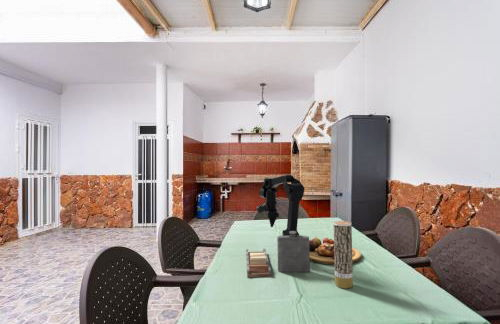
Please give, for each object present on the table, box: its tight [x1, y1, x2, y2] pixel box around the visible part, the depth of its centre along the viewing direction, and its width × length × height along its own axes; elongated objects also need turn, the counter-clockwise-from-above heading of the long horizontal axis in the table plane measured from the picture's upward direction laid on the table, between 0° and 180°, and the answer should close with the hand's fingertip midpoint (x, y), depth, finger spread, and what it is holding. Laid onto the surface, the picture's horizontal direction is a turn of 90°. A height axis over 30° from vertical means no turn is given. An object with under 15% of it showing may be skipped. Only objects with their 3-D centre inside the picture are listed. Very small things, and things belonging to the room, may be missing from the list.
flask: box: [276, 231, 311, 274], centre depth 125 cm, size 4×14×18 cm, turn 85°
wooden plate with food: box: [309, 236, 362, 266], centre depth 146 cm, size 32×32×8 cm
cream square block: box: [250, 253, 266, 265], centre depth 128 cm, size 7×7×5 cm
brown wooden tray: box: [245, 248, 272, 278], centre depth 134 cm, size 30×10×4 cm, turn 2°
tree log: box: [333, 220, 354, 289], centre depth 109 cm, size 7×7×25 cm
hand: (271, 227), depth 155 cm, fingers closed
